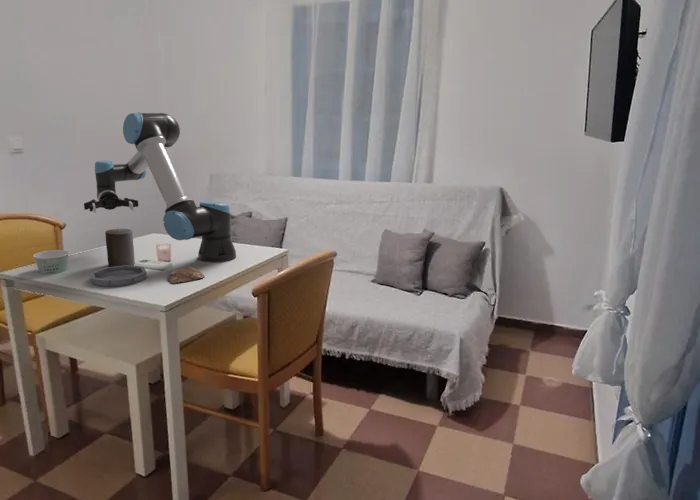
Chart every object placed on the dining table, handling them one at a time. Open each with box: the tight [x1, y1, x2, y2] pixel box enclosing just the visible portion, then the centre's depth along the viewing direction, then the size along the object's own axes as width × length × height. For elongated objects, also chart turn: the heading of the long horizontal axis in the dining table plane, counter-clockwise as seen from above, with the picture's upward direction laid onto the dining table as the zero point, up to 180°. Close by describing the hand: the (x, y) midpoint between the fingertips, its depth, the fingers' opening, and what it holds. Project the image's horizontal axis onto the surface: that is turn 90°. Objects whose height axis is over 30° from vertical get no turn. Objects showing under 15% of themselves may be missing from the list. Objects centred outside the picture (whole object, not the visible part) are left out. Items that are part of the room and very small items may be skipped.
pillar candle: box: [104, 228, 136, 267], centre depth 199 cm, size 10×10×15 cm
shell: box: [166, 266, 205, 285], centre depth 187 cm, size 12×13×4 cm
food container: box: [32, 249, 71, 275], centre depth 192 cm, size 12×12×7 cm
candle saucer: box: [90, 265, 148, 288], centre depth 184 cm, size 18×18×2 cm
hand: (113, 208), depth 204 cm, fingers open, 13 cm apart
